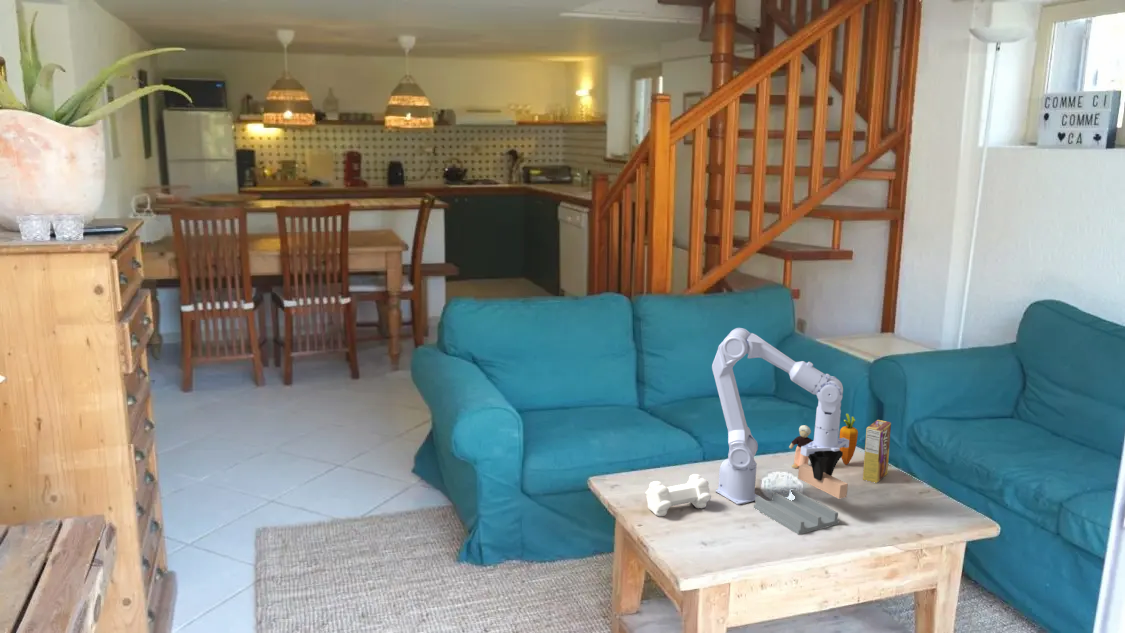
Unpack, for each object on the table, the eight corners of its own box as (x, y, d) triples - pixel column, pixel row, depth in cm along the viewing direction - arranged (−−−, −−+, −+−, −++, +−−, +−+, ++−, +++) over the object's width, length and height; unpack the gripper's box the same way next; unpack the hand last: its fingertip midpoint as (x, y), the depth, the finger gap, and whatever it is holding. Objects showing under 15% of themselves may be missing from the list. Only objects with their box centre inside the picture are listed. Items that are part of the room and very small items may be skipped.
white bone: (659, 522, 208) (662, 493, 206) (642, 505, 216) (645, 476, 213) (711, 512, 215) (714, 483, 212) (692, 496, 222) (695, 468, 220)
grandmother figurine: (788, 469, 242) (792, 426, 239) (787, 464, 245) (790, 422, 243) (816, 471, 240) (820, 428, 238) (815, 466, 244) (818, 424, 241)
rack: (753, 508, 216) (754, 497, 215) (792, 498, 222) (793, 488, 221) (798, 534, 202) (799, 522, 201) (838, 523, 208) (839, 512, 207)
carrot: (855, 468, 243) (860, 418, 239) (837, 467, 244) (842, 417, 240) (853, 462, 247) (858, 413, 244) (835, 460, 248) (840, 411, 245)
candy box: (872, 470, 242) (877, 419, 239) (887, 474, 239) (893, 422, 236) (861, 479, 235) (866, 427, 232) (876, 483, 232) (882, 430, 229)
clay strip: (797, 478, 220) (799, 465, 219) (805, 476, 221) (806, 463, 220) (839, 498, 208) (840, 485, 207) (846, 497, 209) (847, 483, 208)
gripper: (817, 435, 204) (812, 488, 207) (860, 427, 211) (855, 478, 214) (796, 426, 210) (791, 478, 213) (838, 418, 217) (834, 468, 220)
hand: (822, 477), depth 214 cm, fingers closed on clay strip, 2 cm apart
